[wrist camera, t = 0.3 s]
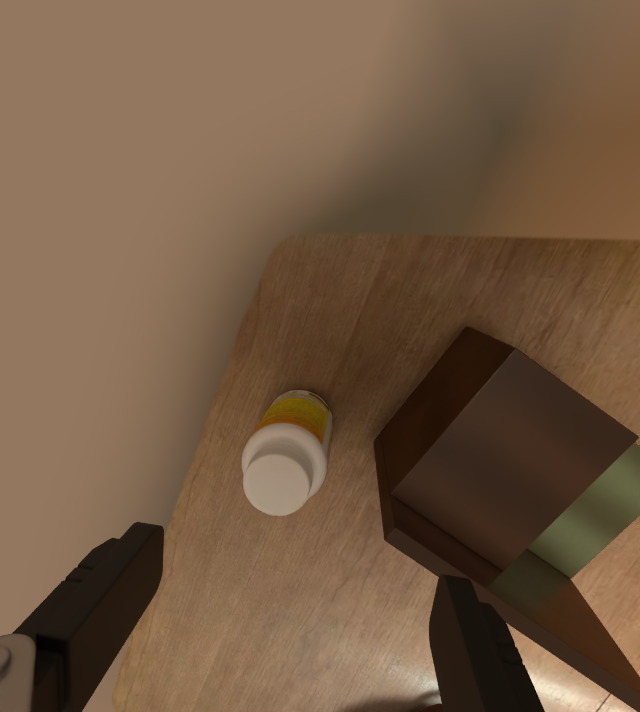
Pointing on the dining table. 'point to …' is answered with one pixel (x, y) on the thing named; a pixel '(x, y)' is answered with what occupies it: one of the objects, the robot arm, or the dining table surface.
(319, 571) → the dining table surface
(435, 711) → the dish
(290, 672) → the dining table surface
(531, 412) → the shelf
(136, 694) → the dining table surface
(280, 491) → the supplement bottle
